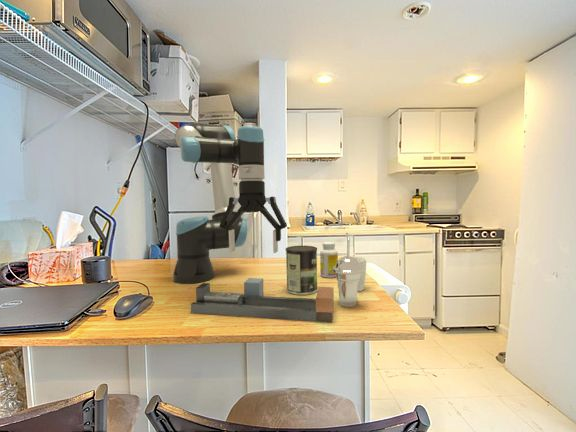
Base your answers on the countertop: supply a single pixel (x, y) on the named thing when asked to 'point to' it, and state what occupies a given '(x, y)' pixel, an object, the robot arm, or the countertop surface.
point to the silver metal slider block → (216, 296)
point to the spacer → (254, 287)
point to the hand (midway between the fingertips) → (253, 251)
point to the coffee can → (301, 269)
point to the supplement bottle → (328, 260)
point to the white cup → (362, 275)
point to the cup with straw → (347, 277)
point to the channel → (276, 307)
